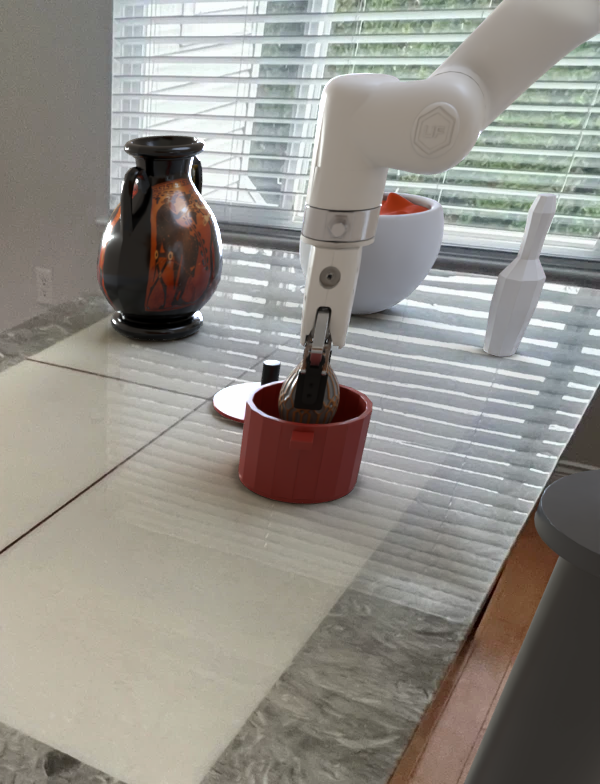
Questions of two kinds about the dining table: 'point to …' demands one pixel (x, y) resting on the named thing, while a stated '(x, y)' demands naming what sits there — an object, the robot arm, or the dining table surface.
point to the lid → (243, 393)
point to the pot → (395, 251)
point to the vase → (305, 415)
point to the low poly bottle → (520, 283)
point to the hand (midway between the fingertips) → (310, 394)
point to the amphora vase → (160, 243)
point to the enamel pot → (302, 448)
